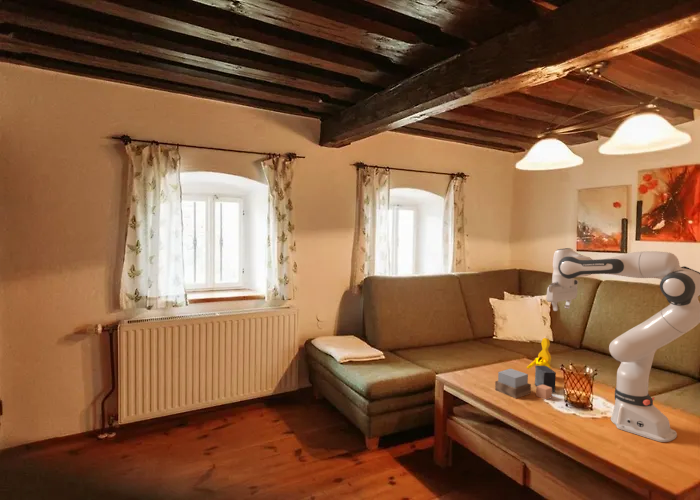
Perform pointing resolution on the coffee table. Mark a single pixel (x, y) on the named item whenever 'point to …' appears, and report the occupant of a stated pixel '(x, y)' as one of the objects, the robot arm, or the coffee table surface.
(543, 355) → the figure statuette
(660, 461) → the coffee table surface
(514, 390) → the tower base slab
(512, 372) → the tower top block
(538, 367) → the small box
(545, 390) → the terracotta cube
